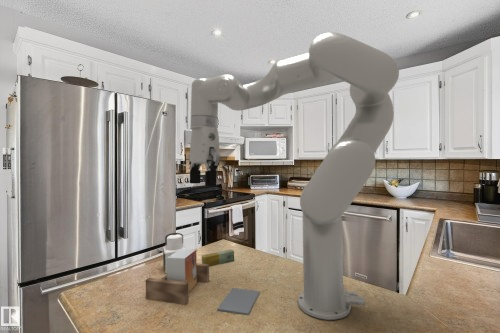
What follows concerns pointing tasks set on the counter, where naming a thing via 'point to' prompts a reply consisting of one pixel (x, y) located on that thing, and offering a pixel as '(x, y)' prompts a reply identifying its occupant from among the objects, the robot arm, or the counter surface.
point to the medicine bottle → (171, 246)
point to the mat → (239, 301)
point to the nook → (174, 287)
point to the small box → (183, 267)
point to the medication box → (218, 258)
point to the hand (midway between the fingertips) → (202, 184)
